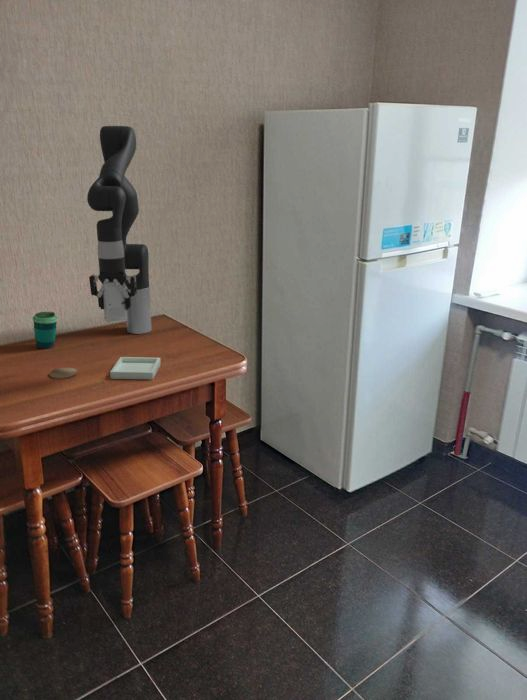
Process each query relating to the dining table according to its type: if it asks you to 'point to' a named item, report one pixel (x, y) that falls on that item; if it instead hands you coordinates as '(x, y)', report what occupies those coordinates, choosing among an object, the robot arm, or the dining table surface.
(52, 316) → the cup
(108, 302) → the skincare box
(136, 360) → the tray
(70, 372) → the coaster
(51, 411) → the dining table surface
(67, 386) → the dining table surface
